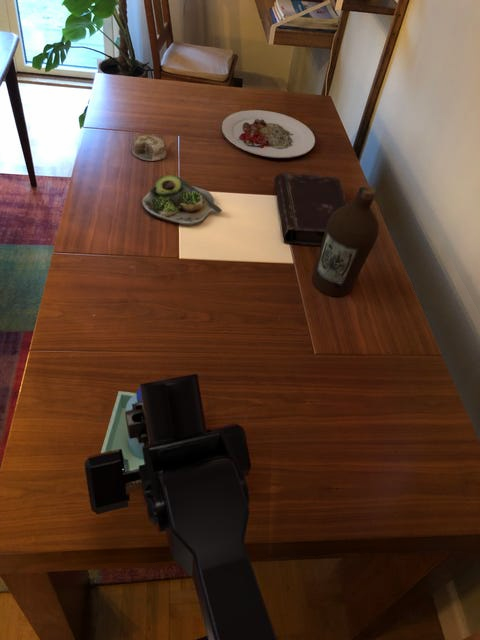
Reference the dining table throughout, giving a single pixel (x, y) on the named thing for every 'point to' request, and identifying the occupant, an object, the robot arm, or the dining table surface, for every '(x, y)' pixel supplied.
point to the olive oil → (346, 245)
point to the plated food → (268, 134)
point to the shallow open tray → (120, 432)
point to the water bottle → (133, 442)
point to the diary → (307, 206)
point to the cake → (148, 148)
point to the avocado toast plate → (178, 201)
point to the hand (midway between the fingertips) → (161, 456)
